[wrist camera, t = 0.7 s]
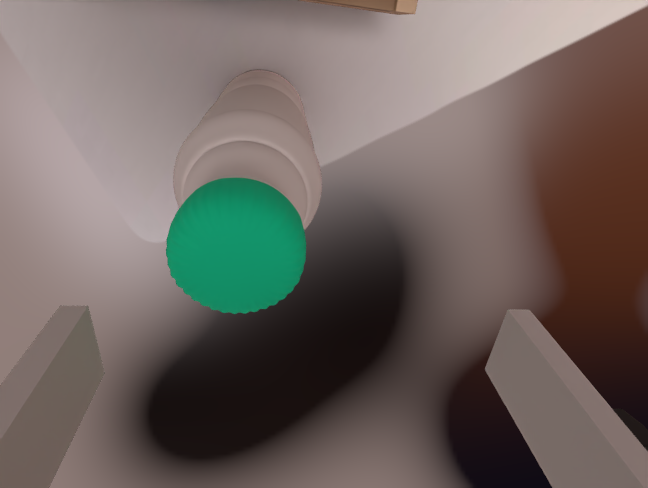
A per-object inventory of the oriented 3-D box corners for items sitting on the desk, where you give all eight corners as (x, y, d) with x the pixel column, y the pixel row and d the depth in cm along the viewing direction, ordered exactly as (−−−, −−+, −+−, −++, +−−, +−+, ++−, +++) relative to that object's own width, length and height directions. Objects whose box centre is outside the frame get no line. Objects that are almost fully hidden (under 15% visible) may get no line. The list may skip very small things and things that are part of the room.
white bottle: (313, 84, 34) (374, 196, 13) (290, 162, 37) (308, 362, 16) (229, 56, 33) (132, 130, 11) (213, 140, 36) (111, 329, 14)
